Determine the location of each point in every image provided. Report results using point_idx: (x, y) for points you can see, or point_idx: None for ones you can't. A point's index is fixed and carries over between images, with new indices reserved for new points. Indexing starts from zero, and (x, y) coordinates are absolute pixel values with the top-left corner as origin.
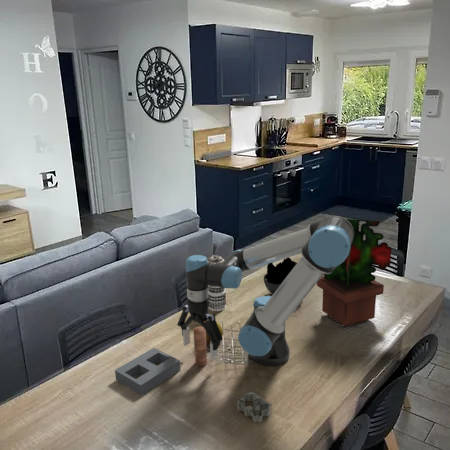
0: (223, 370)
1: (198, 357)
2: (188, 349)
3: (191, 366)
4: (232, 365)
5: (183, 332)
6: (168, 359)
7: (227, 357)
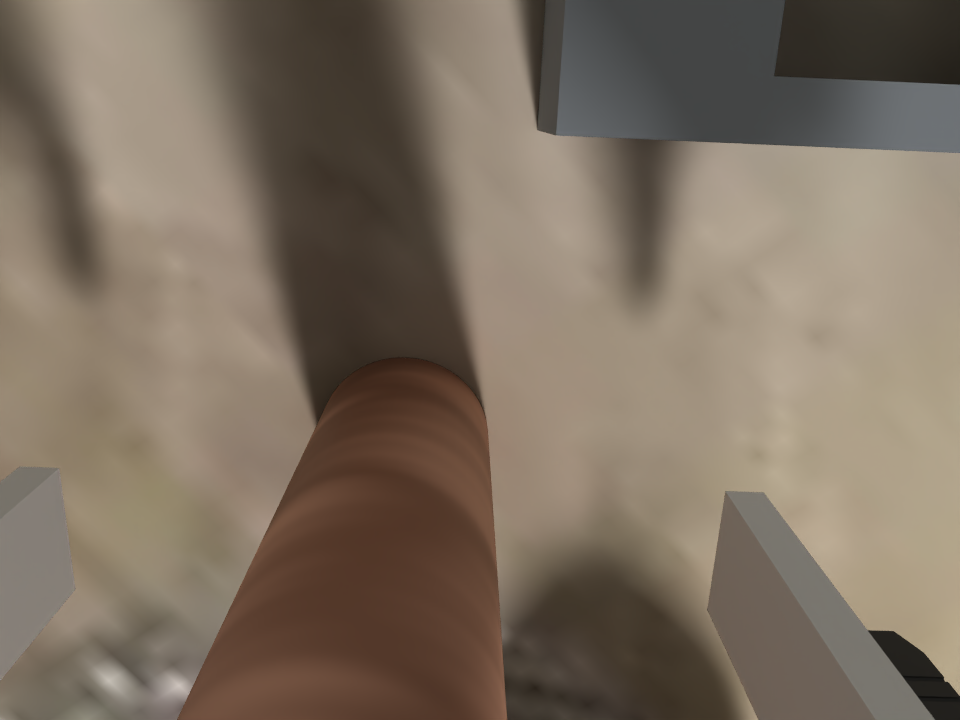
0: None
1: (354, 414)
2: None
3: (461, 297)
4: None
5: (896, 695)
6: (771, 21)
7: None
